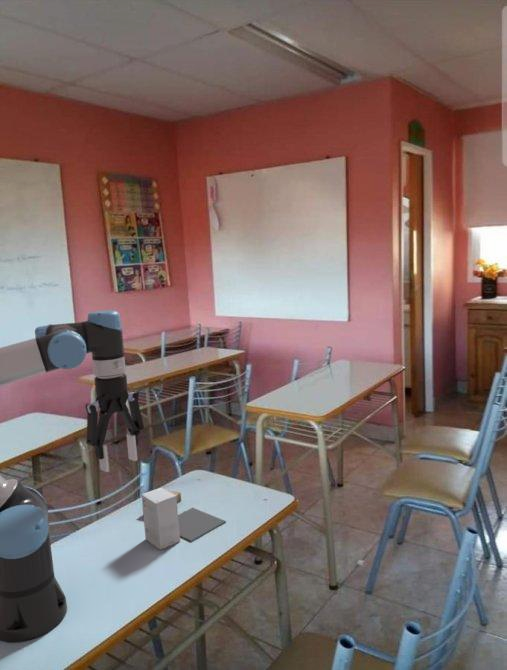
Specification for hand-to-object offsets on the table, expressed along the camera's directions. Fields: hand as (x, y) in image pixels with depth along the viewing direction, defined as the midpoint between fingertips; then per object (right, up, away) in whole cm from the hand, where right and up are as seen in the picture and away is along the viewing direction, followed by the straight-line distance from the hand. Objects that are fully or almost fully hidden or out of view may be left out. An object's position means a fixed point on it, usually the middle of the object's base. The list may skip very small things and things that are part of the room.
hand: (119, 464), depth 136 cm
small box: (+9, -23, +12) cm, 28 cm away
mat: (+16, -21, +20) cm, 33 cm away
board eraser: (+6, -21, +31) cm, 38 cm away
